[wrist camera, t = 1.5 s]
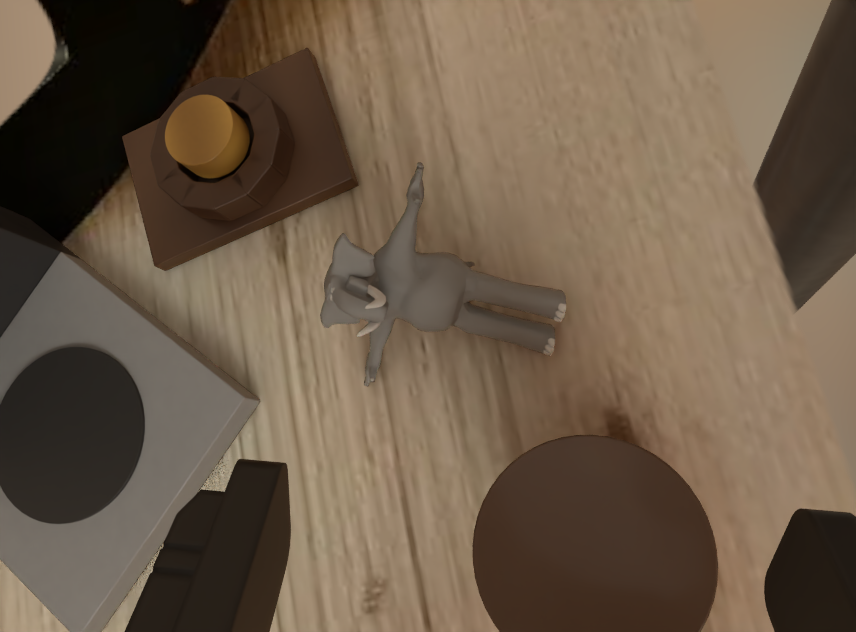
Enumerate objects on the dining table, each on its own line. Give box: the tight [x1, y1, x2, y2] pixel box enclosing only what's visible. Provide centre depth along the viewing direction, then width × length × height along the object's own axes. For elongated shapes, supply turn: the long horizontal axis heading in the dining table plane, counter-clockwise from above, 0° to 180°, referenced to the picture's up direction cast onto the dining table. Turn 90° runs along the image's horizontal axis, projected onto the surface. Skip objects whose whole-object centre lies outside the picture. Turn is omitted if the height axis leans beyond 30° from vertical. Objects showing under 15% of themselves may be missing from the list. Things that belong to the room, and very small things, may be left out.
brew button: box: [165, 95, 250, 179], centre depth 33 cm, size 3×3×2 cm
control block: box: [122, 48, 358, 271], centre depth 35 cm, size 10×7×2 cm
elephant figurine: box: [320, 162, 566, 386], centre depth 29 cm, size 10×6×9 cm
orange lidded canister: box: [473, 435, 718, 632], centre depth 24 cm, size 6×6×10 cm
